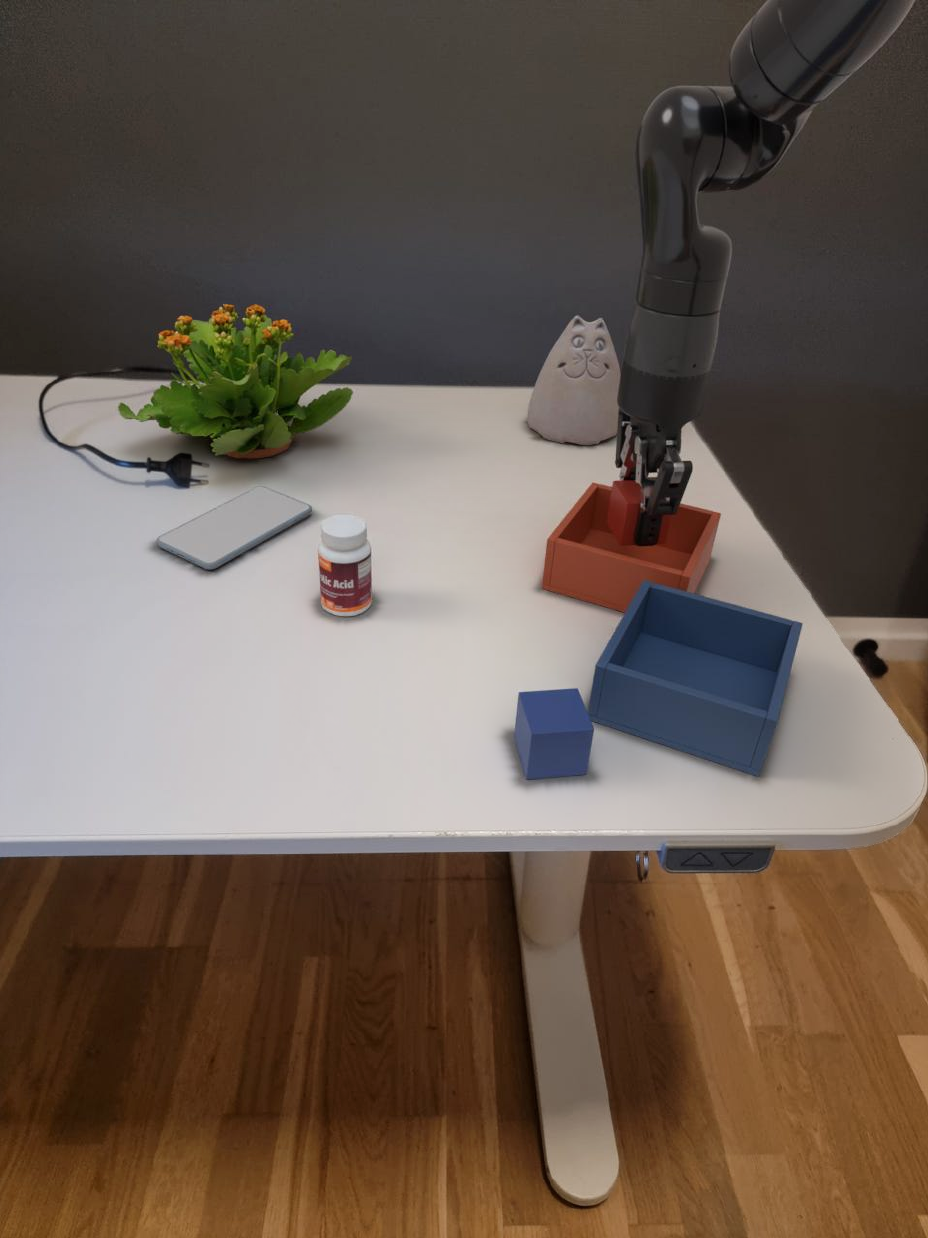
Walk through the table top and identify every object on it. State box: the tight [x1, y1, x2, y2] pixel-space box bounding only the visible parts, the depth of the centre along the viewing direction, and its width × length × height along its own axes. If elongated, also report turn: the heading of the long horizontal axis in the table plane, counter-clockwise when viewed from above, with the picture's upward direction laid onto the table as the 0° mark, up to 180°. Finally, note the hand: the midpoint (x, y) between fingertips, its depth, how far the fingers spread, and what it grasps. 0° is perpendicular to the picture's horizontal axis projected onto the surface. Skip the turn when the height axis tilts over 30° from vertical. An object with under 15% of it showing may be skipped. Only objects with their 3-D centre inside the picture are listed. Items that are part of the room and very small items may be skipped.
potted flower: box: [117, 303, 354, 460], centre depth 103 cm, size 25×24×18 cm
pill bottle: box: [317, 513, 373, 617], centre depth 78 cm, size 5×5×8 cm
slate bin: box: [587, 580, 803, 777], centre depth 70 cm, size 14×14×6 cm
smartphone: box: [156, 485, 313, 570], centre depth 90 cm, size 8×1×15 cm
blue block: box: [513, 687, 595, 780], centre depth 64 cm, size 5×5×5 cm
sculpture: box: [527, 315, 621, 446], centre depth 112 cm, size 13×12×15 cm
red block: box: [607, 480, 671, 546], centre depth 83 cm, size 5×5×5 cm
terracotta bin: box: [541, 482, 722, 613], centre depth 85 cm, size 14×14×6 cm
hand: (636, 529), depth 84 cm, fingers closed on red block, 4 cm apart
